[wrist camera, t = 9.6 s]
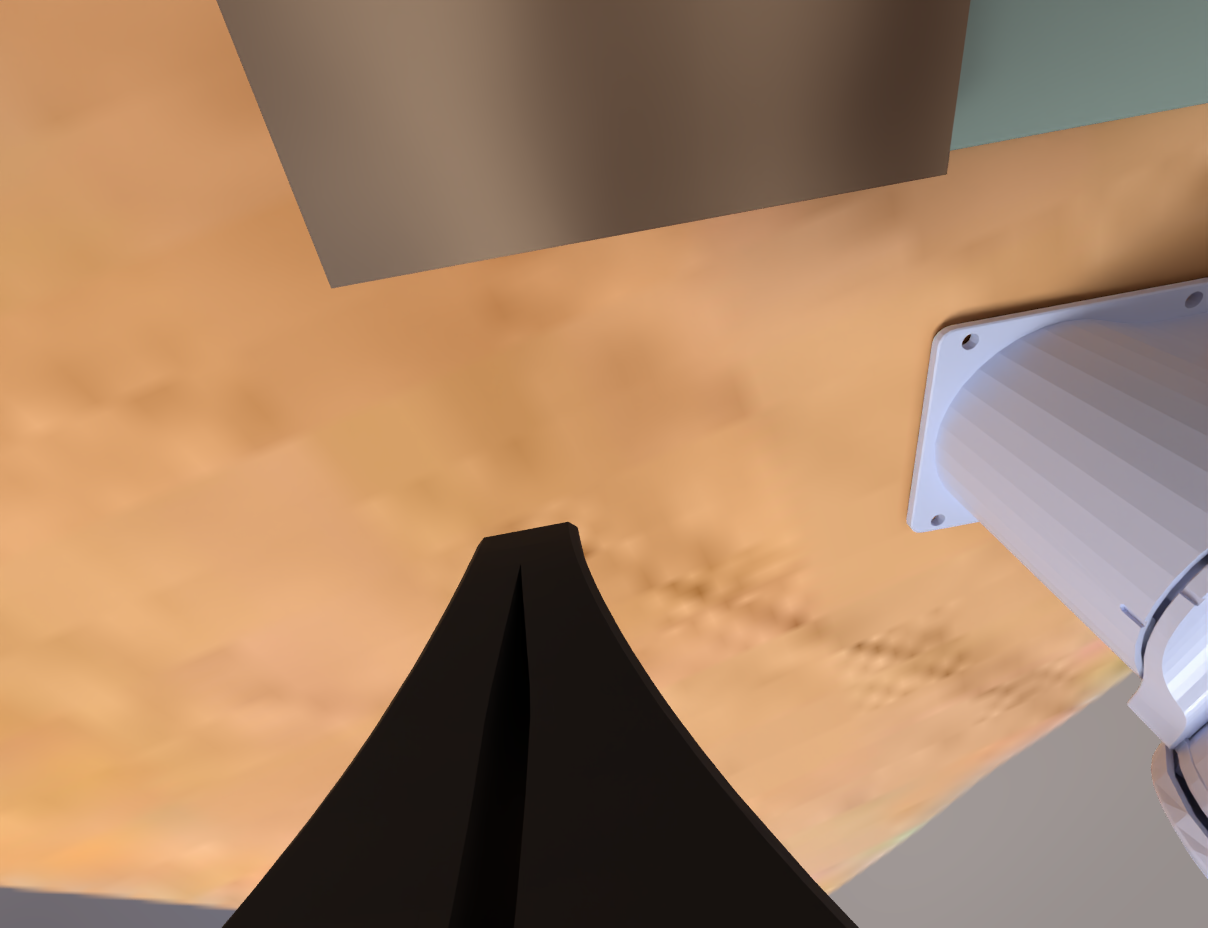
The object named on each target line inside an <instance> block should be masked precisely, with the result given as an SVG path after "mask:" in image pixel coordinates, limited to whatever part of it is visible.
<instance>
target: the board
mask: <svg viewBox="0 0 1208 928" xmlns="http://www.w3.org/2000/svg"><path fill="white" fill-rule="evenodd" d="M970 1H971V0H217V3H218V5H219V8H220V10H221V13H222V15H223V18H224V20H225V23H226V25H227V28H228V30H229V33H230V35H231V38H232V40H233V43H234V45H235V48H236V50H237V53H238V56H239V58H240V61H241V63H242V66H243V68H244V71H245V73H246V76H247V78H248V81H249V83H250V86H251V88H252V91H253V93H254V96H255V98H256V101H257V103H258V106H259V108H260V111H261V113H262V116H263V118H264V121H265V123H266V126H267V128H268V131H269V133H270V136H271V138H272V141H273V143H274V146H275V148H276V151H277V153H278V156H279V158H280V161H281V163H282V166H283V168H284V171H285V173H286V176H287V178H288V181H289V183H290V186H291V188H292V191H293V193H294V196H295V198H296V201H297V203H298V206H299V208H300V211H301V213H302V216H303V218H304V221H305V223H306V226H307V229H308V231H309V234H310V236H311V239H312V241H313V244H314V246H315V249H316V251H317V254H318V256H319V259H320V261H321V264H322V266H323V269H324V271H325V274H326V276H327V279H328V281H329V284H330V286H331V288H336V287H341V286H347V285H352V284H358V283H363V282H368V281H374V280H379V279H385V278H390V277H395V276H401V275H406V274H412V273H417V272H422V271H428V270H433V269H439V268H444V267H449V266H455V265H460V264H466V263H471V262H476V261H482V260H487V259H493V258H498V257H503V256H509V255H514V254H520V253H525V252H530V251H536V250H541V249H546V248H552V247H557V246H563V245H568V244H573V243H579V242H584V241H590V240H595V239H600V238H606V237H611V236H617V235H622V234H627V233H633V232H638V231H644V230H649V229H654V228H660V227H665V226H671V225H676V224H681V223H687V222H692V221H698V220H703V219H708V218H714V217H719V216H725V215H730V214H735V213H741V212H746V211H752V210H757V209H762V208H768V207H773V206H778V205H784V204H789V203H795V202H800V201H805V200H811V199H816V198H822V197H827V196H832V195H838V194H843V193H849V192H854V191H859V190H865V189H870V188H876V187H881V186H886V185H892V184H897V183H903V182H908V181H913V180H919V179H924V178H930V177H935V176H940V175H946V174H947V168H948V161H949V153H950V146H951V139H952V132H953V124H954V117H955V110H956V102H957V95H958V88H959V81H960V73H961V66H962V59H963V52H964V44H965V37H966V30H967V22H968V15H969V8H970Z"/></svg>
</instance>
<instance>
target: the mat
mask: <svg viewBox="0 0 1208 928" xmlns="http://www.w3.org/2000/svg"><path fill="white" fill-rule="evenodd" d="M1204 103H1208V0H971V1H970V8H969V15H968V22H967V30H966V37H965V44H964V52H963V59H962V66H961V73H960V81H959V88H958V95H957V102H956V110H955V117H954V124H953V132H952V139H951V146H950V151H951V150H956V149H961V148H967V147H972V146H978V145H983V144H988V143H994V142H999V141H1005V140H1010V139H1015V138H1021V137H1026V136H1032V135H1037V134H1042V133H1048V132H1053V131H1059V130H1064V129H1069V128H1075V127H1080V126H1086V125H1091V124H1096V123H1102V122H1107V121H1113V120H1118V119H1123V118H1129V117H1134V116H1140V115H1145V114H1150V113H1156V112H1161V111H1167V110H1172V109H1177V108H1183V107H1188V106H1194V105H1199V104H1204Z"/></svg>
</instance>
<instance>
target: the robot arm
mask: <svg viewBox="0 0 1208 928" xmlns="http://www.w3.org/2000/svg"><path fill="white" fill-rule="evenodd" d="M1189 296H1190V297H1189ZM1188 297H1189V298H1188ZM1187 298H1188V299H1187ZM969 334H971V337H970V339H969V341H968V342H967V343H965V344H963V345H962V342H963V340H964V338H965V337H966V336H967V335H969ZM936 515H938V516H936ZM935 516H936V517H935ZM934 517H935V518H934ZM932 518H933V519H932ZM906 520H907V524H908V525H909V526H910V528H911V529H912V530H913V531H915V532H917V533H918V532H927V531H932V530H938V529H943V528H948V527H953V526H959V525H964V524H969V523H975V522H980V523H981V524H982V525H983V526H984V527H985V528H986V529H987V530H988V531H989V532H990V533H991V534H993V535H994V536H995V537H996V538H997V539H998V540H999V541H1000V542H1001V543H1002V544H1003V545H1004V546H1005V547H1006V548H1007V549H1008V550H1009V551H1010V552H1011V553H1012V554H1013V555H1014V556H1015V557H1016V558H1017V559H1018V560H1019V561H1020V562H1021V563H1022V564H1023V565H1024V566H1025V567H1026V568H1028V569H1029V570H1030V571H1031V572H1032V573H1033V574H1034V575H1035V576H1036V577H1037V578H1038V579H1039V580H1040V581H1041V582H1042V583H1043V584H1044V585H1045V586H1046V587H1047V588H1048V589H1049V590H1050V591H1051V592H1052V593H1053V594H1054V595H1055V596H1056V597H1057V598H1058V599H1059V600H1060V601H1061V602H1062V603H1064V604H1065V605H1066V606H1067V607H1068V608H1069V609H1070V610H1071V611H1072V612H1073V613H1074V614H1075V615H1076V616H1077V617H1078V618H1079V619H1080V620H1081V621H1082V622H1083V623H1084V624H1085V625H1086V626H1087V627H1088V628H1089V629H1090V630H1091V631H1092V632H1093V633H1094V634H1095V635H1096V636H1097V637H1099V638H1100V639H1101V640H1102V641H1103V642H1104V643H1105V644H1106V645H1107V646H1108V647H1109V648H1110V649H1111V650H1112V651H1113V652H1114V653H1115V654H1116V655H1117V656H1118V657H1119V658H1120V659H1121V660H1122V661H1123V662H1124V663H1125V664H1126V665H1127V666H1128V667H1129V668H1130V669H1131V670H1132V671H1134V672H1135V673H1136V674H1137V675H1138V676H1139V677H1140V678H1141V679H1142V682H1141V684H1140V686H1139V687H1138V689H1137V691H1136V692H1135V693H1134V695H1133V696H1132V697H1131V698H1130V699H1129V701H1128V703H1127V705H1128V706H1129V707H1130V708H1131V709H1132V710H1133V711H1134V712H1135V714H1136V715H1137V716H1138V717H1140V719H1141V720H1142V721H1143V722H1144V723H1145V724H1146V725H1147V726H1148V727H1149V728H1150V729H1151V730H1152V731H1153V732H1154V733H1155V734H1156V735H1157V736H1158V737H1159V738H1160V739H1161V740H1162V743H1161V744H1159V746H1158V748H1157V749H1156V751H1155V753H1154V755H1153V757H1152V765H1151V773H1152V779H1153V784H1154V788H1155V790H1156V793H1157V795H1158V798H1159V801H1160V803H1161V806H1162V808H1163V810H1164V812H1165V814H1166V815H1167V817H1168V819H1169V821H1170V823H1171V824H1172V826H1173V828H1174V830H1175V831H1176V833H1177V835H1178V836H1179V838H1180V840H1181V842H1182V843H1183V845H1184V847H1185V848H1186V850H1187V851H1188V853H1189V855H1190V856H1191V857H1192V859H1193V860H1194V861H1195V863H1196V864H1197V866H1198V867H1199V869H1200V870H1201V871H1202V872H1203V874H1204V875H1205V876H1206V878H1207V879H1208V277H1207V278H1201V279H1196V280H1191V281H1185V282H1180V283H1175V284H1169V285H1164V286H1159V287H1153V288H1148V289H1143V290H1137V291H1132V292H1126V293H1121V294H1116V295H1110V296H1105V297H1100V298H1094V299H1089V300H1084V301H1078V302H1073V303H1068V304H1062V305H1057V306H1051V307H1046V308H1041V309H1035V310H1030V311H1025V312H1019V313H1014V314H1009V315H1003V316H998V317H993V318H987V319H982V320H976V321H971V322H966V323H960V324H955V325H950V326H947V327H945V328H943V329H942V330H940V331H939V332H938V333H937V334H936V336H935V337H934V340H933V342H932V348H931V355H930V362H929V368H928V375H927V382H926V389H925V396H924V403H923V410H922V416H921V423H920V430H919V437H918V444H917V451H916V458H915V464H914V471H913V478H912V485H911V492H910V499H909V506H908V513H907V519H906ZM222 928H858V926H857V925H856V924H855V923H854V922H853V921H852V920H851V919H850V918H849V917H848V916H847V915H846V914H845V913H844V912H843V911H842V910H841V909H840V907H839V906H838V905H837V904H836V903H835V902H834V901H833V900H832V899H831V898H830V897H829V896H828V895H827V894H826V893H825V892H824V891H823V890H822V888H821V887H820V886H819V885H818V884H817V883H816V882H815V881H814V880H813V879H812V878H811V877H810V875H809V874H808V873H807V872H806V871H805V870H804V869H803V868H802V866H801V865H800V864H799V863H798V862H797V861H796V860H795V858H794V857H793V856H792V855H791V854H790V853H789V852H788V851H787V849H786V848H785V847H784V846H783V845H782V844H781V843H780V841H779V840H778V839H777V838H776V837H775V836H774V835H773V833H772V832H771V831H770V830H769V829H768V828H767V827H766V826H765V824H764V823H763V822H762V821H761V820H760V819H759V818H758V816H757V815H756V814H755V813H754V812H753V811H752V810H751V809H750V807H749V806H748V805H747V804H746V803H745V802H744V801H743V799H742V798H741V797H740V796H739V795H738V794H737V792H736V791H735V790H734V789H733V788H732V786H731V785H730V784H729V783H728V781H727V780H726V779H725V778H724V776H723V775H722V774H721V773H720V771H719V770H718V769H717V768H716V766H715V765H714V764H713V763H712V761H711V760H710V759H709V758H708V756H707V755H706V754H705V753H704V751H703V750H702V749H701V748H700V746H699V745H698V744H697V742H696V741H695V740H694V738H693V737H692V736H691V734H690V733H689V732H688V730H687V729H686V728H685V726H684V725H683V724H682V723H681V721H680V720H679V719H678V717H677V716H676V714H675V713H674V712H673V710H672V709H671V707H670V706H669V705H668V703H667V702H666V701H665V699H664V698H663V696H662V695H661V693H660V692H659V690H658V689H657V687H656V686H655V685H654V683H653V682H652V680H651V679H650V677H649V676H648V674H647V672H646V671H645V669H644V668H643V666H642V665H641V663H640V662H639V660H638V659H637V657H636V656H635V654H634V652H633V651H632V649H631V648H630V646H629V644H628V643H627V641H626V639H625V638H624V636H623V634H622V633H621V631H620V629H619V627H618V625H617V624H616V622H615V620H614V618H613V616H612V615H611V613H610V611H609V609H608V607H607V606H606V604H605V602H604V600H603V598H602V596H601V594H600V592H599V590H598V588H597V586H596V584H595V582H594V579H593V577H592V575H591V572H590V570H589V568H588V566H587V563H586V560H585V558H584V554H583V549H582V545H581V541H580V536H579V532H578V527H576V526H575V525H573V524H571V523H569V522H565V523H560V524H554V525H549V526H544V527H538V528H533V529H528V530H522V531H517V532H512V533H506V534H501V535H496V536H490V537H485V538H483V540H482V541H481V542H480V544H479V545H478V547H477V549H476V551H475V553H474V555H473V557H472V559H471V561H470V563H469V565H468V567H467V570H466V572H465V574H464V576H463V578H462V580H461V582H460V583H459V585H458V587H457V589H456V591H455V593H454V595H453V597H452V599H451V601H450V603H449V605H448V606H447V608H446V610H445V612H444V614H443V616H442V618H441V619H440V621H439V623H438V625H437V626H436V628H435V630H434V632H433V634H432V635H431V637H430V639H429V641H428V642H427V644H426V646H425V648H424V649H423V651H422V653H421V655H420V657H419V658H418V660H417V662H416V663H415V665H414V667H413V668H412V670H411V672H410V673H409V675H408V677H407V678H406V680H405V681H404V683H403V684H402V686H401V688H400V689H399V691H398V692H397V694H396V696H395V697H394V699H393V700H392V702H391V703H390V705H389V707H388V708H387V710H386V711H385V713H384V714H383V716H382V718H381V719H380V721H379V722H378V724H377V726H376V727H375V729H374V730H373V732H372V733H371V735H370V736H369V738H368V739H367V740H366V742H365V743H364V745H363V746H362V748H361V749H360V751H359V752H358V754H357V755H356V756H355V758H354V759H353V761H352V762H351V764H350V765H349V766H348V768H347V769H346V771H345V772H344V773H343V775H342V776H341V778H340V779H339V780H338V782H337V783H336V784H335V786H334V787H333V788H332V790H331V791H330V793H329V794H328V795H327V797H326V798H325V799H324V801H323V802H322V803H321V805H320V806H319V807H318V809H317V810H316V811H315V813H314V814H313V815H312V817H311V818H310V819H309V821H308V822H307V823H306V825H305V826H304V827H303V828H302V830H301V831H300V832H299V833H298V835H297V836H296V837H295V838H294V840H293V841H292V842H291V843H290V845H289V846H288V847H287V848H286V850H285V851H284V852H283V853H282V855H281V856H280V857H279V858H278V860H277V861H276V862H275V864H274V865H273V866H272V867H271V869H270V870H269V871H268V872H267V874H266V875H265V876H264V877H263V879H262V880H261V881H260V882H259V884H258V885H257V886H256V887H255V889H254V890H253V891H252V892H251V893H250V895H249V896H248V897H247V898H246V899H245V901H244V902H243V903H242V904H241V905H240V907H239V908H238V909H237V910H236V911H235V913H234V914H233V915H232V916H231V917H230V918H229V920H228V921H227V922H226V923H225V924H224V926H223V927H222Z"/></svg>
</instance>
